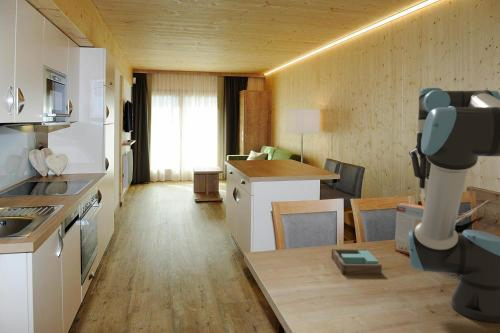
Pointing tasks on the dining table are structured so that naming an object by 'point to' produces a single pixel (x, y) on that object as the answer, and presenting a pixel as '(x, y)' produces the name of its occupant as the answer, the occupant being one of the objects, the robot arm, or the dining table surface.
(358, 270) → the nest
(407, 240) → the cracker box
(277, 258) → the dining table surface
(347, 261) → the t block
